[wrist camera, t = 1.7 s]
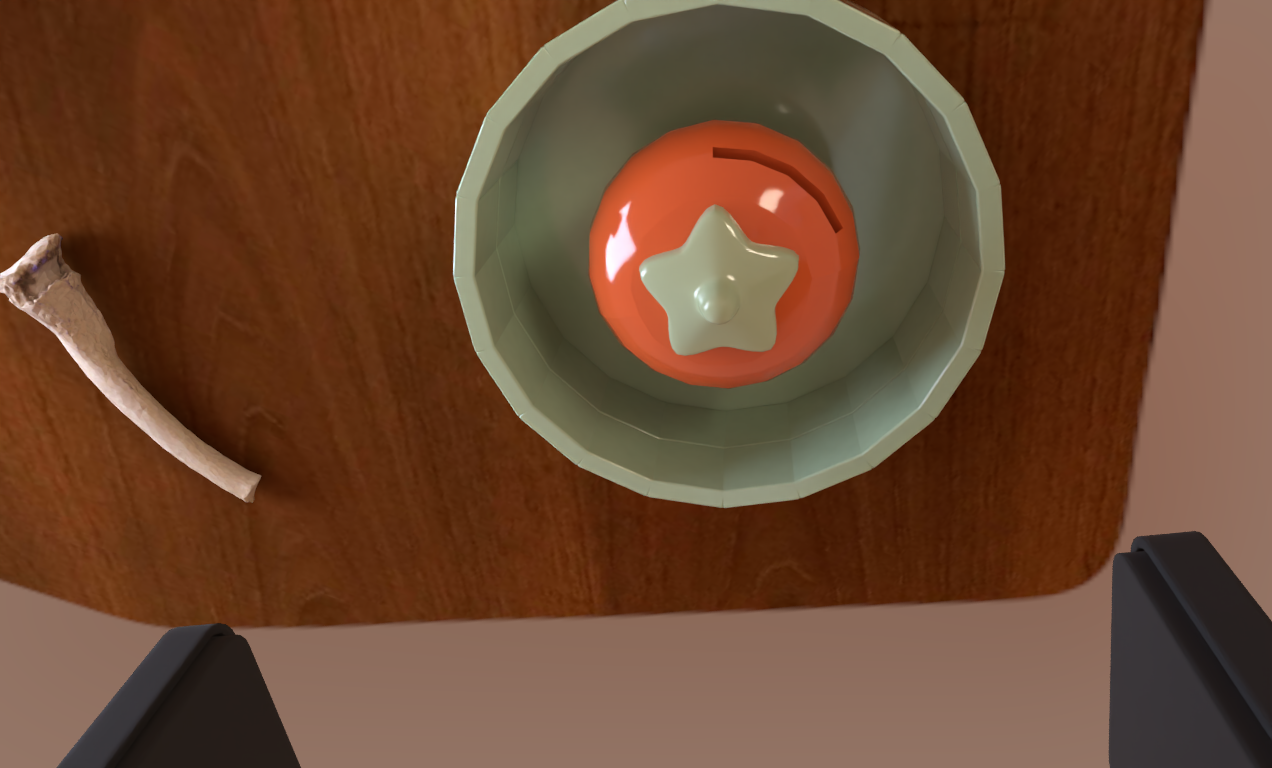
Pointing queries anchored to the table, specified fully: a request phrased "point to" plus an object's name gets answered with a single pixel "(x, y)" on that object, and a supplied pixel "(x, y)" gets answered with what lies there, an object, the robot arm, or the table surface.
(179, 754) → the robot arm
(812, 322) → the tomato
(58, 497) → the table surface
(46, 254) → the bone
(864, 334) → the bowl
